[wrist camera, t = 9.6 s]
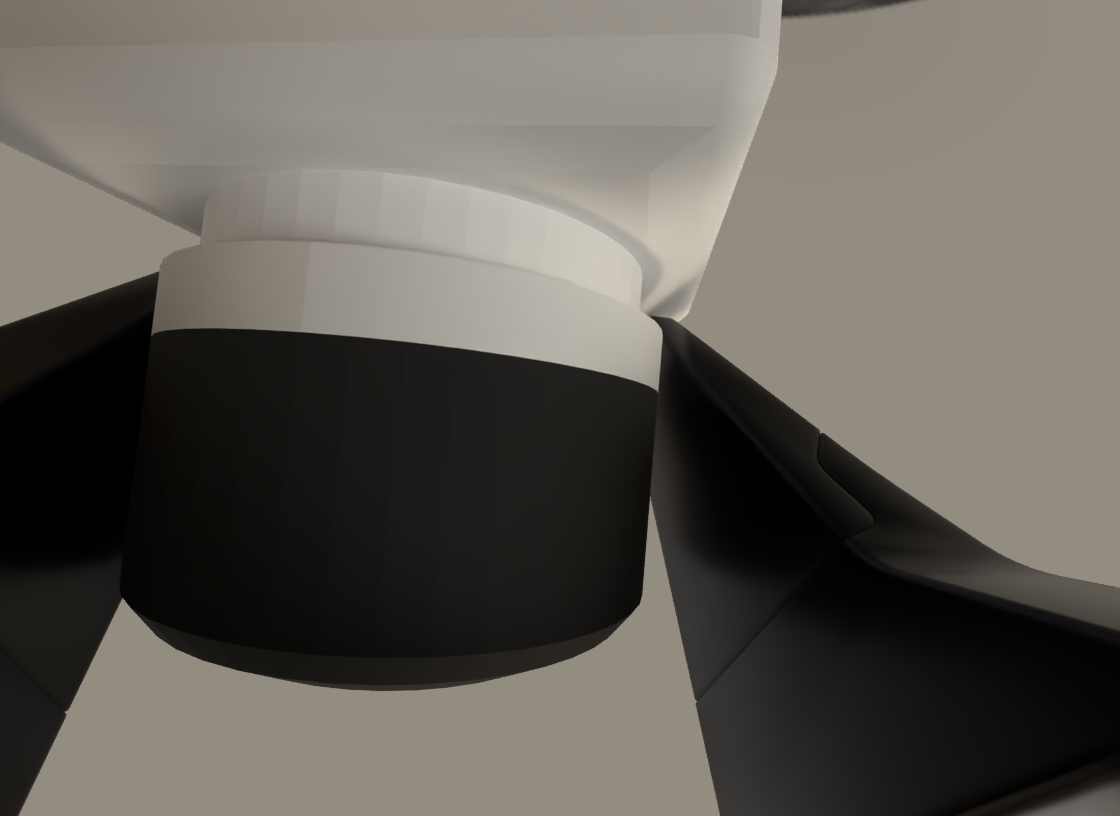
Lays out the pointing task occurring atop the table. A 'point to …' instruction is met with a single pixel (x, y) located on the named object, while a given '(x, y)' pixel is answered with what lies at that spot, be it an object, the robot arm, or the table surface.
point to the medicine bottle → (398, 305)
